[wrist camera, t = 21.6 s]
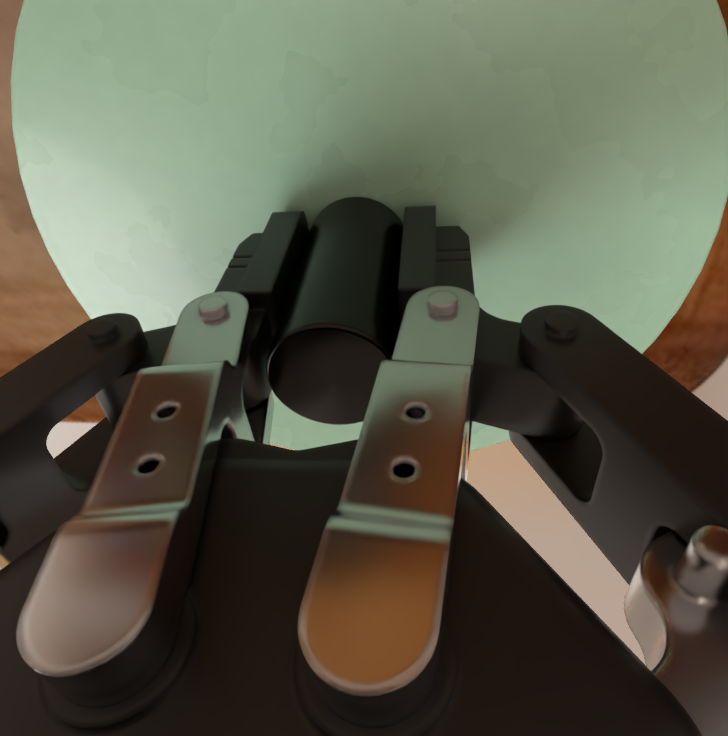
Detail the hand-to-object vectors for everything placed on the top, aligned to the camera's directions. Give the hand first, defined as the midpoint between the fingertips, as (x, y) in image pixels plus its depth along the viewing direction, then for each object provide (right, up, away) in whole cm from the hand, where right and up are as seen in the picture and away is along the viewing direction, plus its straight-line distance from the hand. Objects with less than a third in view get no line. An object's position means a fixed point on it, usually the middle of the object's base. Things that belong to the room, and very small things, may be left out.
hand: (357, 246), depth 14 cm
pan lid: (0, 0, +1) cm, 1 cm away
